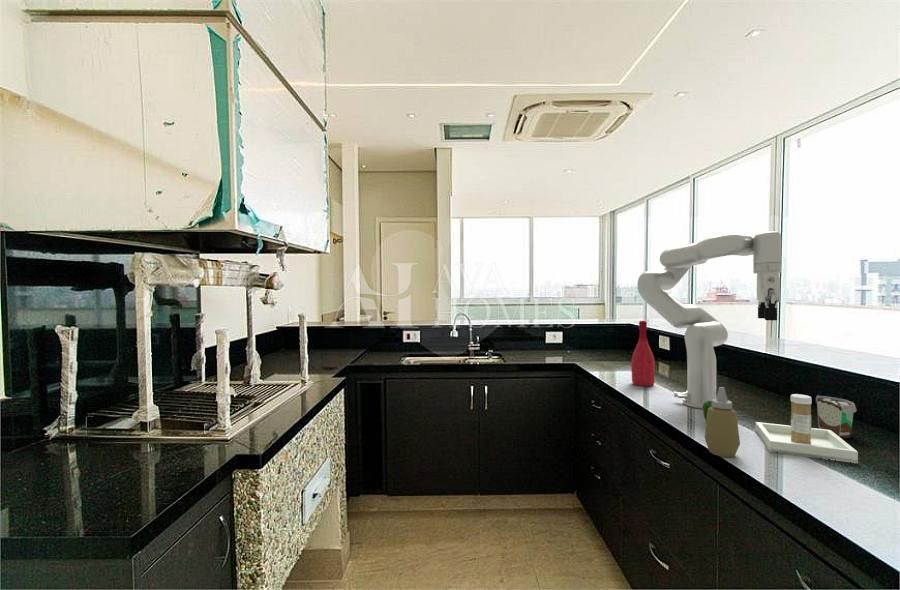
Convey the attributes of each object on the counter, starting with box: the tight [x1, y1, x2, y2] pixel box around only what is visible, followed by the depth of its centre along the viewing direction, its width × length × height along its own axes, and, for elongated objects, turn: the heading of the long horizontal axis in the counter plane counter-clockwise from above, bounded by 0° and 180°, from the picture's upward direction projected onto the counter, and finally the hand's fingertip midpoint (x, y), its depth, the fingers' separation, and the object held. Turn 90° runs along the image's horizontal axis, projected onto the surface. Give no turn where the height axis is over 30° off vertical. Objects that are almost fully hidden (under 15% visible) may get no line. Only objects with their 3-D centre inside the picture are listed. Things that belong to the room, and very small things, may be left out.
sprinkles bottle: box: [790, 393, 813, 444], centre depth 117 cm, size 5×5×14 cm
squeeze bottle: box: [704, 386, 741, 458], centre depth 112 cm, size 8×8×18 cm
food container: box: [815, 395, 858, 439], centre depth 127 cm, size 12×6×10 cm, turn 168°
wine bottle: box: [631, 320, 656, 387], centre depth 194 cm, size 10×10×30 cm
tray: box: [754, 421, 859, 464], centre depth 117 cm, size 18×18×3 cm
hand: (767, 319), depth 139 cm, fingers open, 9 cm apart
